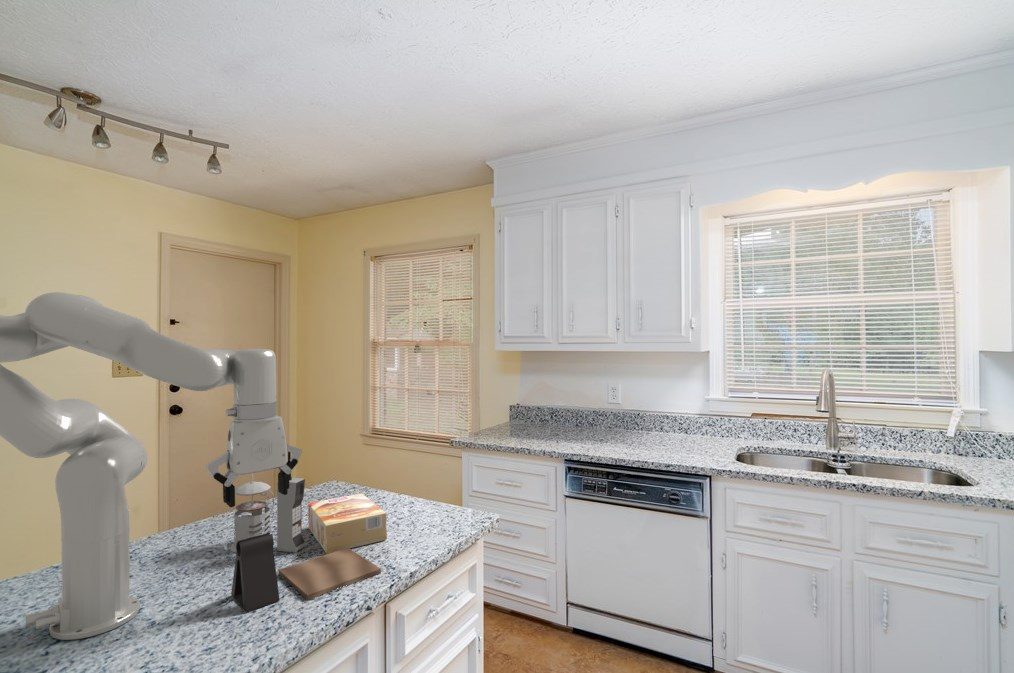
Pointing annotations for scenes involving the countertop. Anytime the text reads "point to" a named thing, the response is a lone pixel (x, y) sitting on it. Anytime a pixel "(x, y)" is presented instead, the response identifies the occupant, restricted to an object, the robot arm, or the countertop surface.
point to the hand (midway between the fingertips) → (257, 499)
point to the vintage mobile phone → (290, 516)
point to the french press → (247, 523)
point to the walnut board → (328, 573)
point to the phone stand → (255, 573)
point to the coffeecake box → (346, 522)
